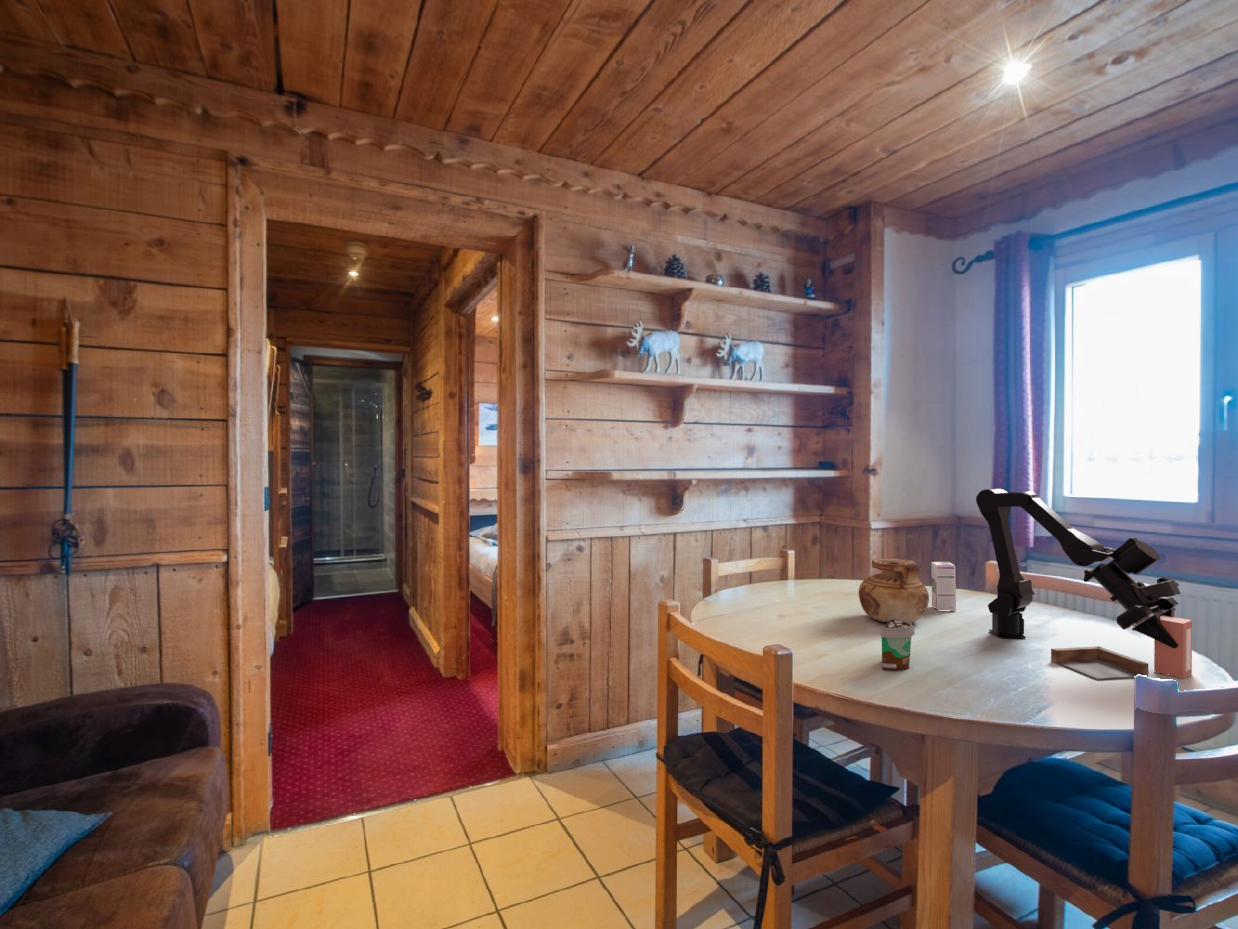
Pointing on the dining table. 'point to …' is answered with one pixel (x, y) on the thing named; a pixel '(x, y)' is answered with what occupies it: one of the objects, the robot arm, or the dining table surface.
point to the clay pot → (894, 591)
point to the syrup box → (943, 586)
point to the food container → (896, 644)
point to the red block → (1179, 657)
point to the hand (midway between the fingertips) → (1181, 645)
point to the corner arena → (1098, 663)
